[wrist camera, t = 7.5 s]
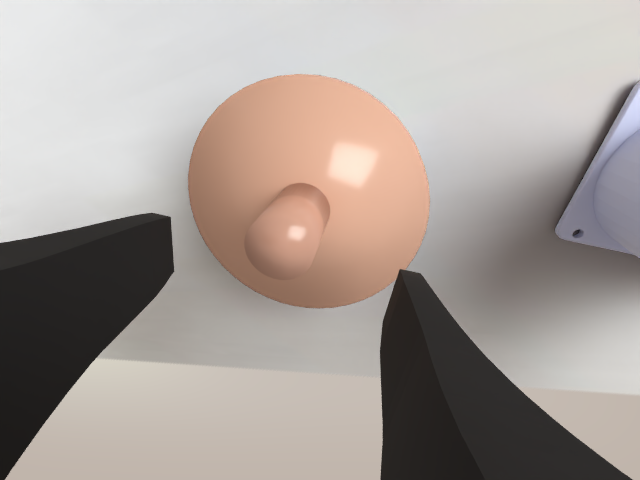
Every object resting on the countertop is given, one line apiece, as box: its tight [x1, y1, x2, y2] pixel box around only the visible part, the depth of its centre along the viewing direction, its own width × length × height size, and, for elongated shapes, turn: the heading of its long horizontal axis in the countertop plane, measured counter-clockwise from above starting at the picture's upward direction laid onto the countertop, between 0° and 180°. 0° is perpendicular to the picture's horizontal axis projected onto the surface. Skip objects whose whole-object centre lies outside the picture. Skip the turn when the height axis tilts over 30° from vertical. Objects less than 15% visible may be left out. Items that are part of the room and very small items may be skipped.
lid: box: [188, 74, 430, 308], centre depth 13 cm, size 10×10×4 cm
